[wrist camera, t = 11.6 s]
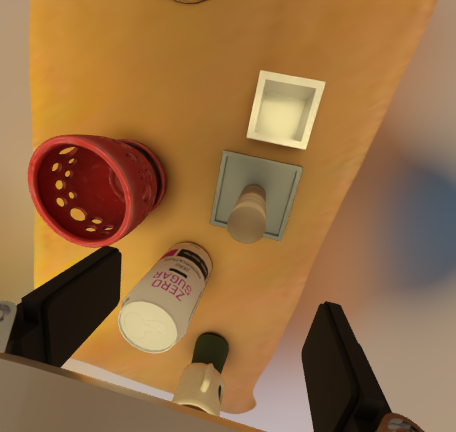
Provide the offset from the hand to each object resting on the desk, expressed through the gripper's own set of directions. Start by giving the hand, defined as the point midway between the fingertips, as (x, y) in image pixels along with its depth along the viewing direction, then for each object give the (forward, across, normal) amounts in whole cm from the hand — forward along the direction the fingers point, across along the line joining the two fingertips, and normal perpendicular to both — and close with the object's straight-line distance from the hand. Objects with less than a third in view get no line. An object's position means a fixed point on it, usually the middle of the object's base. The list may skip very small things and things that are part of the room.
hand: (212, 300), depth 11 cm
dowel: (+24, -1, 0) cm, 25 cm away
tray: (+25, -1, 0) cm, 25 cm away
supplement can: (+26, +7, +14) cm, 30 cm away
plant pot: (+26, +18, +2) cm, 31 cm away
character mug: (+25, 0, +30) cm, 40 cm away
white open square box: (+25, -2, -10) cm, 28 cm away
